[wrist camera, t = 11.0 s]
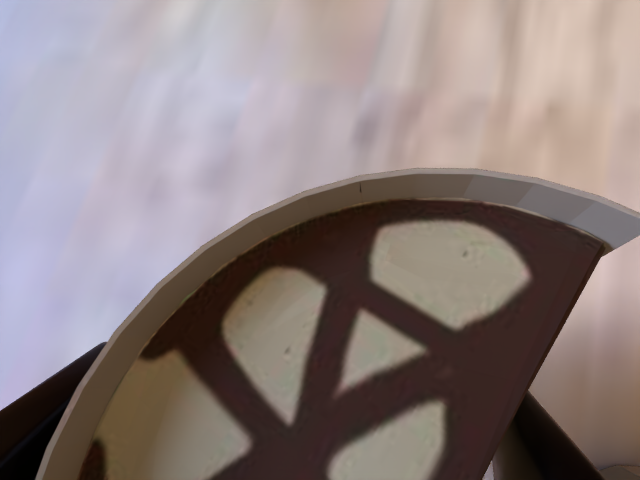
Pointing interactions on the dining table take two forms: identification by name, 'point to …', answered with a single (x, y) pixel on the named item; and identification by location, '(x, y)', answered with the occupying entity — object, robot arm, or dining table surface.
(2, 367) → the dining table surface
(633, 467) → the bowl
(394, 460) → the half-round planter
